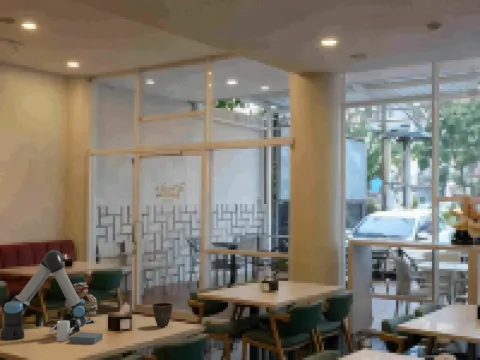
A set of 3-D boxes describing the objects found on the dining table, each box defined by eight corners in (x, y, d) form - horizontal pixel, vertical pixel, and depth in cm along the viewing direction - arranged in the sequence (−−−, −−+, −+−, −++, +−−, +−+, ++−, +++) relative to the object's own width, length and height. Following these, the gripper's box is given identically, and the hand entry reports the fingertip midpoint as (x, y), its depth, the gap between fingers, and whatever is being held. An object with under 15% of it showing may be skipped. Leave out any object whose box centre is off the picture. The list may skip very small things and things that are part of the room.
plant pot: (165, 329, 423) (165, 306, 424) (148, 327, 430) (148, 305, 431) (176, 325, 437) (176, 303, 438) (159, 323, 443) (159, 302, 444)
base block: (70, 343, 376) (70, 336, 376) (79, 338, 390) (79, 332, 390) (94, 344, 374) (94, 337, 374) (102, 339, 388) (102, 333, 388)
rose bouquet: (62, 325, 431) (63, 285, 433) (63, 318, 459) (64, 280, 461) (98, 324, 438) (99, 284, 440) (96, 317, 466) (97, 279, 468)
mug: (54, 342, 377) (55, 323, 378) (49, 340, 384) (49, 321, 384) (72, 340, 385) (72, 321, 386) (66, 337, 392) (66, 319, 392)
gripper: (90, 330, 402) (77, 337, 381) (56, 329, 405) (41, 335, 384) (90, 319, 402) (78, 325, 381) (56, 318, 405) (41, 324, 384)
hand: (59, 330), depth 382 cm, fingers open, 13 cm apart
